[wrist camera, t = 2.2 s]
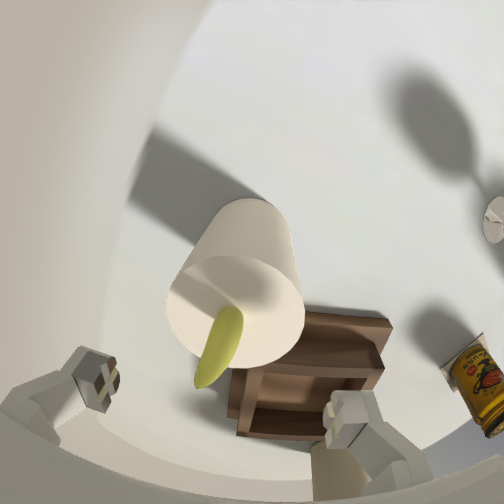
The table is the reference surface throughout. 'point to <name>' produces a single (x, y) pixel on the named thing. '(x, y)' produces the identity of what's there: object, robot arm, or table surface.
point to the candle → (238, 292)
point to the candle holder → (308, 377)
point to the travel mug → (336, 474)
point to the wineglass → (494, 220)
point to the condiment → (479, 385)
